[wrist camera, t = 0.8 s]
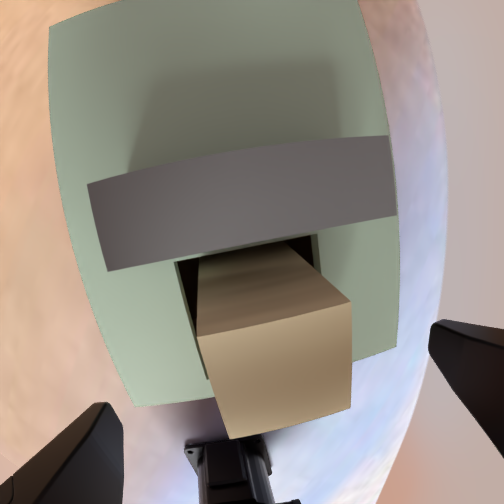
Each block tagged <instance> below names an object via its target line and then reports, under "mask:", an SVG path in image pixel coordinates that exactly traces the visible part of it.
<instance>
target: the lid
mask: <svg viewBox="0 0 504 504" xmlns="http://www.w3.org/2000/svg"><path fill="white" fill-rule="evenodd" d="M48 91H49V110H50V123H51V133H52V142H53V150H54V158H55V165H56V171H57V177H58V183H59V189H60V194H61V199H62V204H63V209H64V214H65V218H66V222H67V227H68V231H69V235H70V239H71V243H72V247H73V250H74V254H75V257H76V261H77V264H78V268H79V271H80V274H81V278H82V281H83V284H84V287H85V290H86V293H87V296H88V299H89V302H90V305H91V308H92V310H93V313H94V316H95V319H96V321H97V324H98V327H99V329H100V332H101V334H102V337H103V339H104V342H105V344H106V347H107V349H108V351H109V354H110V356H111V358H112V361H113V363H114V365H115V367H116V369H117V372H118V374H119V376H120V378H121V380H122V382H123V384H124V386H125V389H126V391H127V393H128V395H129V397H130V399H131V401H132V402H133V404H134V406H135V407H143V406H153V405H162V404H171V403H178V402H186V401H192V400H199V399H205V398H211V397H215V395H214V392H213V389H212V386H211V383H210V380H209V377H208V374H207V370H206V367H205V364H204V361H203V357H202V354H201V351H200V347H199V344H198V340H197V336H196V333H195V329H194V326H193V322H192V318H191V315H190V311H189V307H188V304H187V300H186V296H185V292H184V288H183V284H182V280H181V276H180V272H179V268H178V264H177V261H181V260H186V259H191V258H196V257H201V256H206V255H211V254H216V253H221V252H226V251H231V250H236V249H241V248H246V247H251V246H256V245H261V244H267V243H272V242H277V241H282V240H287V239H292V238H297V237H302V236H307V235H311V243H312V252H313V262H314V269H315V270H317V271H318V272H319V273H320V274H321V275H322V276H323V277H324V278H326V279H327V280H328V281H329V282H330V283H331V284H332V285H333V286H335V287H336V288H337V289H338V290H339V291H340V292H341V293H342V294H343V295H345V296H346V297H347V298H348V299H349V300H350V301H351V306H352V362H355V361H358V360H361V359H364V358H367V357H370V356H373V355H375V354H378V353H381V352H384V351H386V350H389V349H392V348H394V347H396V342H397V330H398V314H399V289H400V244H399V218H398V202H397V190H396V179H395V169H394V161H393V153H392V145H391V138H390V132H389V125H388V119H387V114H386V108H385V103H384V98H383V93H382V88H381V83H380V79H379V74H378V70H377V66H376V62H375V58H374V54H373V50H372V47H371V43H370V39H369V36H368V32H367V29H366V26H365V22H364V19H363V16H362V13H361V10H360V7H359V4H358V1H357V0H121V1H117V2H114V3H111V4H108V5H105V6H101V7H98V8H96V9H93V10H90V11H87V12H84V13H82V14H79V15H76V16H74V17H71V18H69V19H66V20H64V21H62V22H59V23H57V24H55V25H53V26H50V27H49V45H48Z"/></svg>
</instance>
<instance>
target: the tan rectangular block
mask: <svg viewBox="0 0 504 504" xmlns="http://www.w3.org/2000/svg"><path fill="white" fill-rule="evenodd" d="M197 340H198V344H199V347H200V351H201V354H202V357H203V361H204V364H205V367H206V370H207V374H208V377H209V380H210V383H211V386H212V389H213V392H214V395H215V398H216V401H217V404H218V407H219V410H220V413H221V416H222V419H223V422H224V425H225V428H226V430H227V433H228V436H229V439H235V438H240V437H245V436H250V435H255V434H260V433H264V432H269V431H273V430H277V429H281V428H285V427H289V426H293V425H297V424H300V423H304V422H308V421H311V420H314V419H318V418H321V417H324V416H328V415H331V414H334V413H337V412H340V411H343V410H346V409H349V408H350V406H351V381H352V306H351V301H350V300H349V299H348V298H347V297H346V296H345V295H343V294H342V293H341V292H340V291H339V290H338V289H337V288H336V287H335V286H333V285H332V284H331V283H330V282H329V281H328V280H327V279H326V278H324V277H323V276H322V275H321V274H320V273H319V272H318V271H317V270H315V269H314V268H313V267H312V266H311V265H310V264H309V263H308V262H306V261H305V260H304V259H303V258H302V257H301V256H300V255H298V254H297V253H296V252H295V251H294V250H293V249H292V248H290V247H289V246H288V245H287V244H286V243H285V242H284V241H277V242H272V243H267V244H261V245H256V246H251V247H246V248H241V249H236V250H231V251H226V252H221V253H216V254H211V255H206V256H201V257H199V273H198V299H197Z"/></svg>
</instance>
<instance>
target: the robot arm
mask: <svg viewBox="0 0 504 504" xmlns="http://www.w3.org/2000/svg"><path fill="white" fill-rule="evenodd" d="M428 351H429V354H430V356H431V357H432V359H433V360H434V362H435V363H436V365H437V366H438V368H439V369H440V371H441V372H442V374H443V376H444V377H445V379H446V380H447V382H448V383H449V385H450V386H451V388H452V390H453V391H454V392H455V394H456V395H457V396H458V398H459V399H460V400H461V401H462V403H463V404H464V405H465V407H466V408H467V409H468V410H469V412H470V413H471V414H472V416H473V417H474V418H475V420H476V421H477V422H478V424H479V425H480V426H481V427H482V429H483V430H484V432H485V433H486V434H487V436H488V437H489V438H490V440H491V441H492V443H493V444H494V445H495V447H496V448H497V450H498V451H499V452H500V454H501V455H502V457H503V458H504V329H499V328H493V327H487V326H481V325H475V324H468V323H463V322H457V321H452V320H446V319H442V320H440V321H437V322H435V323H433V324H432V326H431V329H430V336H429V344H428ZM257 439H258V440H257ZM184 453H185V455H186V457H187V458H188V460H189V462H190V464H191V465H192V467H193V469H194V471H195V472H196V474H197V476H198V488H199V504H275V501H274V497H273V493H272V489H271V486H270V482H269V478H268V476H270V475H271V474H272V471H271V467H270V463H269V459H268V455H267V451H266V447H265V443H264V439H263V436H262V435H261V434H255V435H250V436H245V437H240V438H235V439H229V440H223V441H216V442H210V443H202V444H195V445H187V446H185V447H184ZM123 485H124V453H123V426H122V423H121V422H120V420H119V418H118V416H117V415H116V413H115V411H114V409H113V408H112V406H111V405H110V404H109V403H108V402H97V403H94V404H92V405H91V406H90V407H89V408H88V409H87V410H86V411H85V412H83V413H82V414H81V415H80V416H79V417H78V418H77V419H75V420H74V421H73V422H72V423H71V424H70V425H69V426H68V427H66V428H65V429H64V430H63V431H62V432H61V433H60V434H58V435H57V436H56V437H55V438H54V439H53V440H52V441H51V442H49V443H48V444H47V445H46V446H45V447H44V448H43V449H41V450H40V451H39V452H38V453H37V454H36V455H35V456H33V457H32V458H31V459H30V460H29V461H28V462H27V463H25V464H24V465H23V466H22V467H21V468H20V469H19V470H17V471H16V472H15V473H14V474H13V476H10V477H9V478H8V479H7V480H6V481H5V482H4V483H3V484H1V485H0V504H122V498H123ZM276 504H301V502H300V500H299V499H295V500H291V501H289V502H283V503H276Z"/></svg>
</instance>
